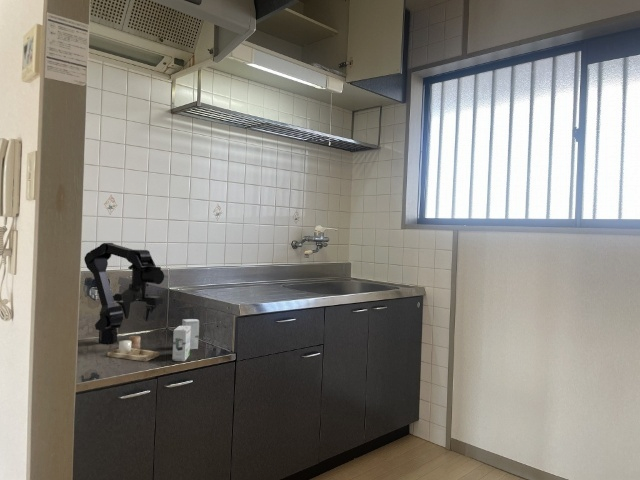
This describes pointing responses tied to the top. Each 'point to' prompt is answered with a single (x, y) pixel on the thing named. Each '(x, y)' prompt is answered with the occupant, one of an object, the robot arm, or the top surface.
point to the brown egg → (135, 342)
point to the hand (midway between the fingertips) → (136, 320)
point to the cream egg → (125, 347)
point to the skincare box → (192, 331)
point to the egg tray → (135, 354)
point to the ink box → (181, 343)
